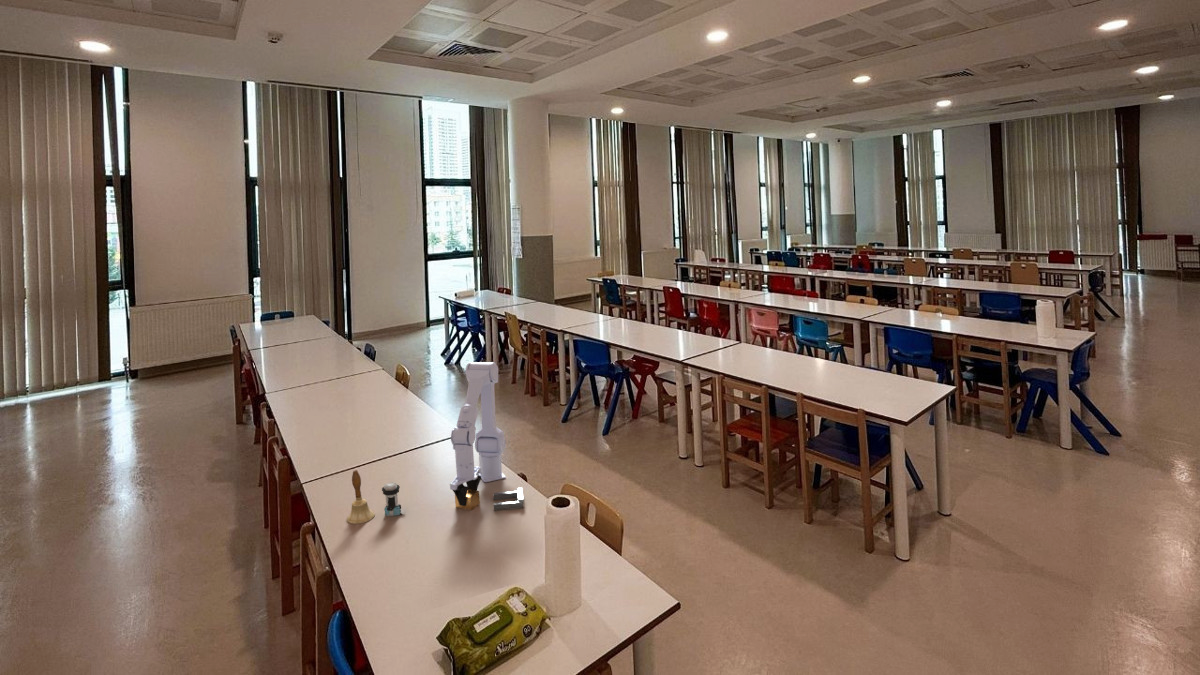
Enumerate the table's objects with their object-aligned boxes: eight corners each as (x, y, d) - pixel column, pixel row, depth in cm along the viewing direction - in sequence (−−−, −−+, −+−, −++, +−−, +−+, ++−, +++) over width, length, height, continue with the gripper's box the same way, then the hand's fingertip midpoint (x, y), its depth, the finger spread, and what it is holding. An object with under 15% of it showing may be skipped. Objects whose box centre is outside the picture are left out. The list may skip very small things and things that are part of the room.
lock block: (455, 507, 197) (454, 494, 197) (464, 500, 202) (463, 488, 201) (471, 510, 195) (470, 497, 194) (479, 503, 200) (479, 490, 199)
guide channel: (493, 510, 195) (493, 502, 194) (493, 498, 203) (493, 490, 203) (523, 507, 196) (523, 499, 196) (522, 495, 205) (522, 487, 204)
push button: (408, 509, 196) (405, 481, 195) (403, 517, 191) (400, 488, 189) (387, 510, 196) (384, 481, 195) (381, 518, 191) (379, 488, 189)
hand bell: (365, 525, 187) (360, 476, 184) (341, 523, 189) (335, 475, 186) (379, 512, 195) (375, 466, 192) (356, 510, 197) (351, 464, 194)
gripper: (462, 472, 188) (464, 513, 190) (487, 455, 201) (490, 493, 203) (443, 469, 190) (446, 509, 193) (469, 453, 203) (472, 490, 206)
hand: (467, 501), depth 198 cm, fingers closed on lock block, 5 cm apart
